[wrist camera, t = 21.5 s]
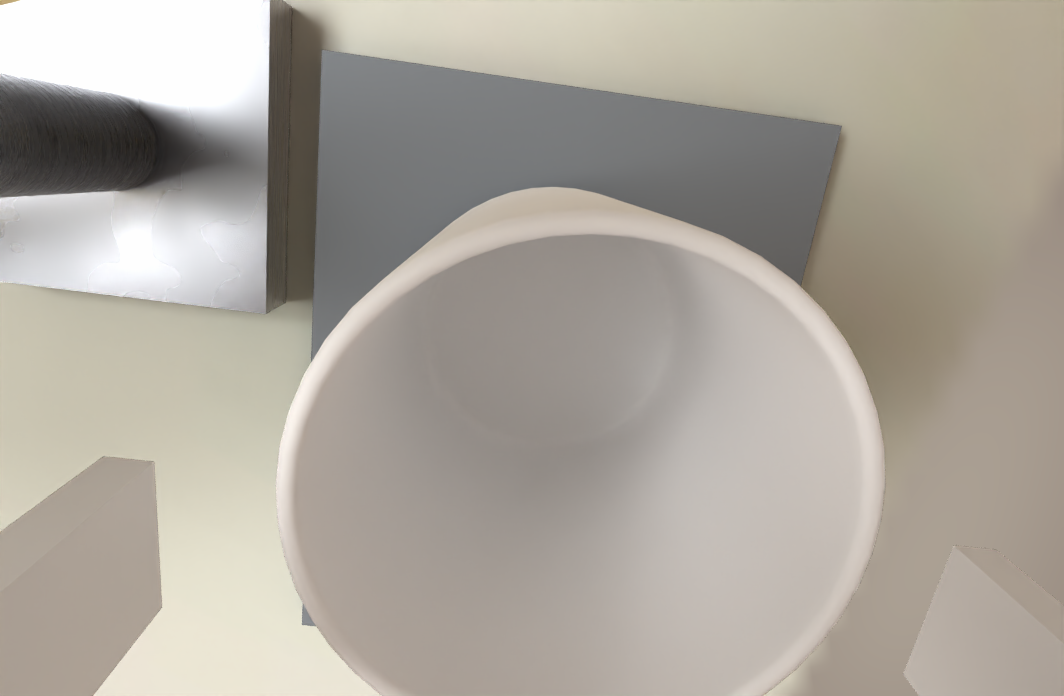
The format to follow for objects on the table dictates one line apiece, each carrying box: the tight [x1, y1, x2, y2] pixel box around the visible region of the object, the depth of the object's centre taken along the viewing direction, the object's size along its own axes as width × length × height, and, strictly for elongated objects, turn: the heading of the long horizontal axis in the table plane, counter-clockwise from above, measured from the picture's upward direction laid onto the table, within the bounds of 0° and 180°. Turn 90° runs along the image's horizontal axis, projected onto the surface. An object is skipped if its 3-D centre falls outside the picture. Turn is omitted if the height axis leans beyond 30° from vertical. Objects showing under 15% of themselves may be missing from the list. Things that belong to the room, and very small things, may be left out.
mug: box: [276, 187, 885, 696], centre depth 14 cm, size 12×8×10 cm
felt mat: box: [302, 50, 842, 626], centre depth 19 cm, size 18×14×1 cm
